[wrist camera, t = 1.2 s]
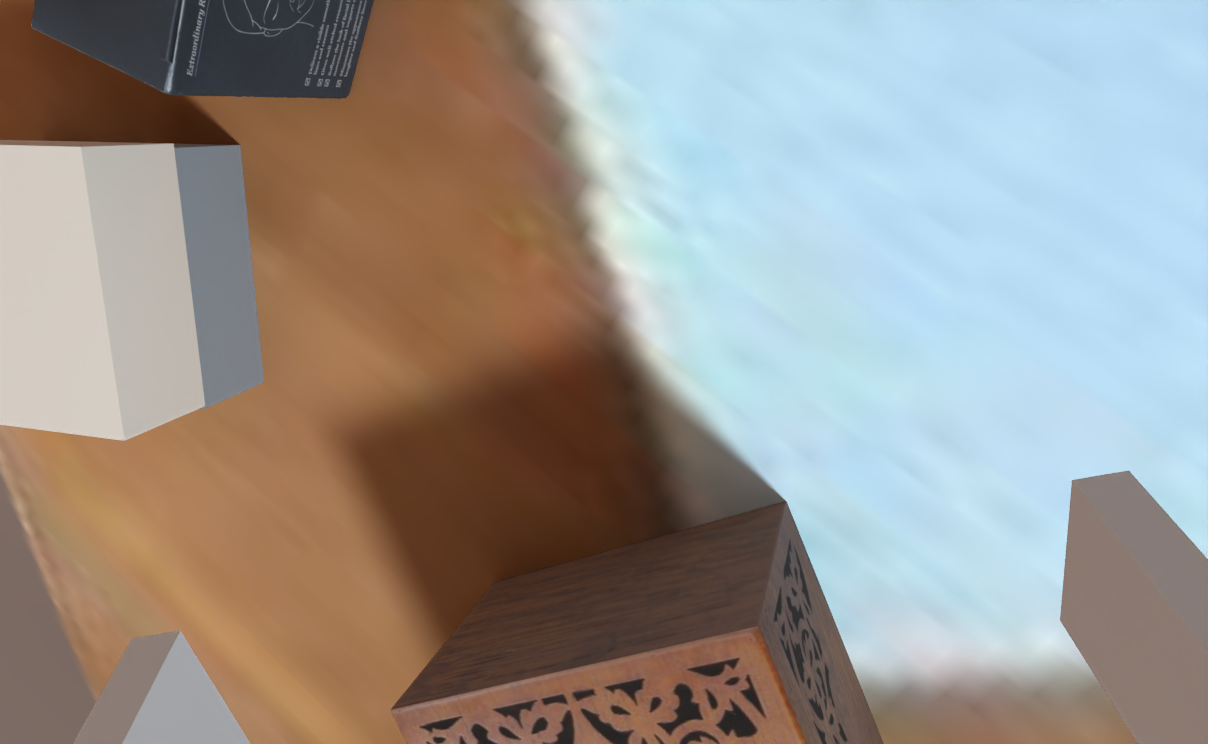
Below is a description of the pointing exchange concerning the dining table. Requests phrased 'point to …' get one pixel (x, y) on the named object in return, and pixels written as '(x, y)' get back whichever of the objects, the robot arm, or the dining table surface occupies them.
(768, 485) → the dining table surface
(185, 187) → the block
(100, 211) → the tower top
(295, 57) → the box
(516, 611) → the tissue box cover
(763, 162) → the dining table surface
